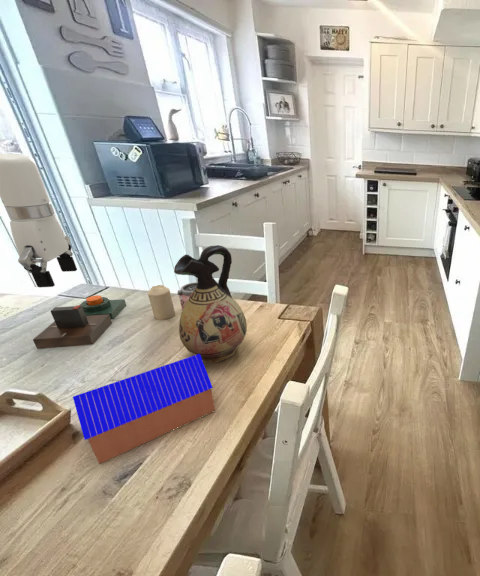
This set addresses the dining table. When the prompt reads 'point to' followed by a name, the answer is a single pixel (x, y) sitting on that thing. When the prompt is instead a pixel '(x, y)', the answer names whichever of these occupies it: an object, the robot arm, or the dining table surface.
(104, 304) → the button box
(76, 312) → the dark grey block
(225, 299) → the ceramic jug
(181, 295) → the pink lidded cup
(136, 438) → the house
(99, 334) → the panel
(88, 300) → the button
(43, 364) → the dining table surface
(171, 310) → the candle
